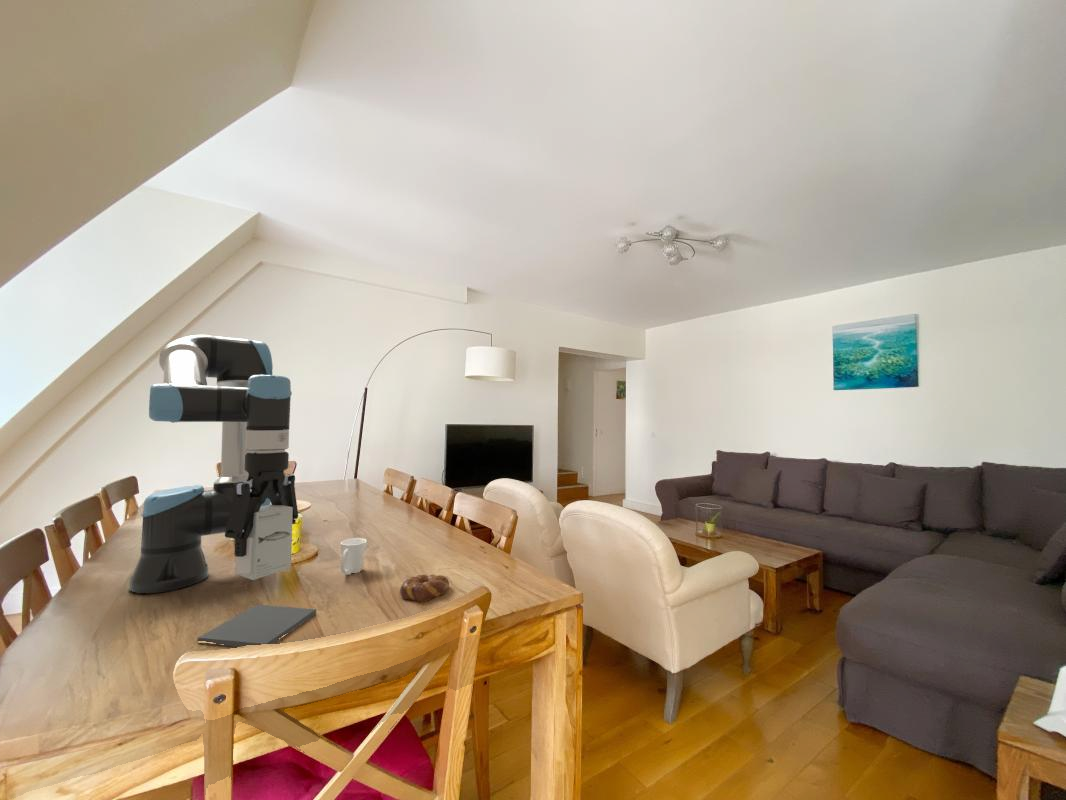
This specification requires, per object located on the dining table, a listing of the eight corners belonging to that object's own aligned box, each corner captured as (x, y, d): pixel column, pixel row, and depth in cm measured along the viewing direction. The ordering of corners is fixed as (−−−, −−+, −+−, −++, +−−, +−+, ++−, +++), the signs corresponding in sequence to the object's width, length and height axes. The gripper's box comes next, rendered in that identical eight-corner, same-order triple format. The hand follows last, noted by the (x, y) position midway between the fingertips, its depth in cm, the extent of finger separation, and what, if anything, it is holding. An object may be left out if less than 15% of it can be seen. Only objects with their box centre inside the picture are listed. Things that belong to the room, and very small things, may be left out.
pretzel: (440, 580, 110) (440, 566, 110) (456, 596, 101) (457, 580, 101) (393, 590, 103) (394, 574, 103) (406, 607, 94) (407, 590, 94)
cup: (370, 566, 118) (371, 537, 119) (354, 580, 108) (355, 549, 109) (346, 566, 119) (347, 537, 119) (328, 580, 109) (329, 548, 109)
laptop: (197, 643, 78) (197, 637, 78) (256, 609, 92) (257, 604, 92) (265, 649, 76) (265, 643, 76) (315, 613, 90) (315, 609, 90)
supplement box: (253, 581, 79) (254, 513, 80) (233, 573, 83) (235, 509, 83) (292, 569, 85) (294, 506, 86) (273, 562, 89) (274, 502, 90)
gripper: (239, 455, 74) (234, 585, 73) (318, 448, 96) (315, 548, 95) (202, 455, 75) (196, 583, 74) (288, 447, 97) (285, 547, 96)
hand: (263, 563), depth 84 cm, fingers closed on supplement box, 9 cm apart
